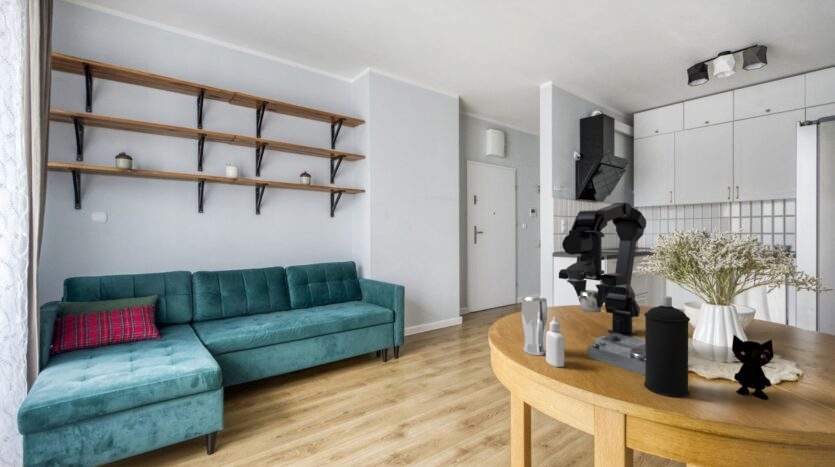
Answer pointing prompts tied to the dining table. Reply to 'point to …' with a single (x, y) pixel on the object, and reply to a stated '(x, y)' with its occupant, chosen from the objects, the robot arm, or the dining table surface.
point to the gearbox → (619, 351)
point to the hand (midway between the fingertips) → (590, 305)
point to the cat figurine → (752, 365)
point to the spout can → (589, 301)
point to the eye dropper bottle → (555, 345)
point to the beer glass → (534, 324)
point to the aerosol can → (666, 350)
